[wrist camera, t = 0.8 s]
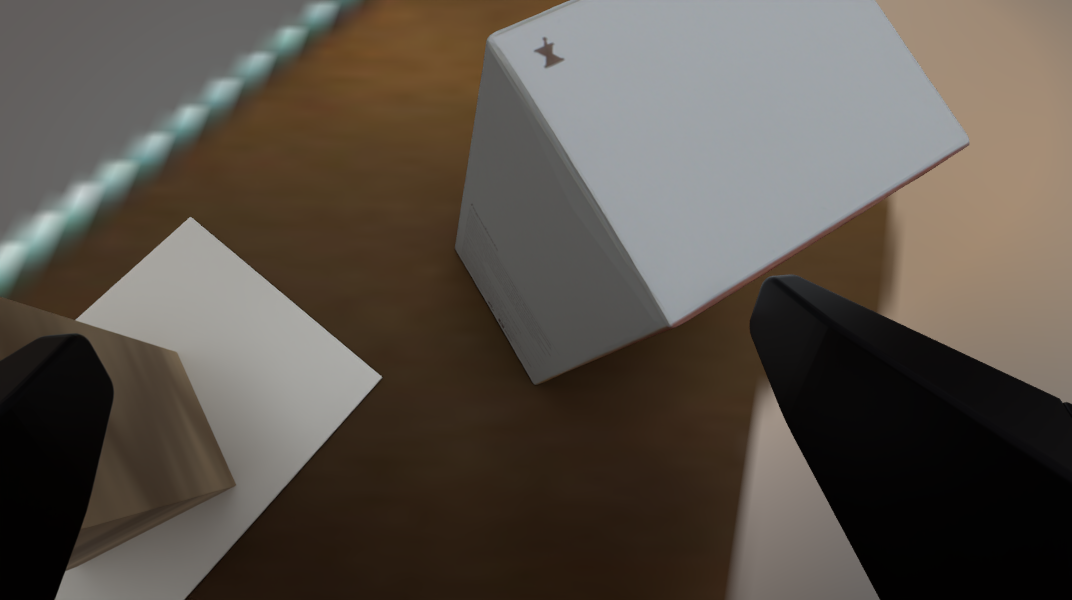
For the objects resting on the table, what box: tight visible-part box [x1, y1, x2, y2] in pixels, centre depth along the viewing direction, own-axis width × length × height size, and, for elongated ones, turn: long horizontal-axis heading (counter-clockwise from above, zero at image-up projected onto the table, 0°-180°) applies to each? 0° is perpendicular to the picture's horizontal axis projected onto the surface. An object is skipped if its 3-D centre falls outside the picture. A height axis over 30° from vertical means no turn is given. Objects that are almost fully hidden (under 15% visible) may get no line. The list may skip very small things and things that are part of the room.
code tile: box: [55, 217, 382, 600], centre depth 19 cm, size 14×9×1 cm, turn 141°
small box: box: [455, 0, 969, 385], centre depth 17 cm, size 8×6×13 cm
